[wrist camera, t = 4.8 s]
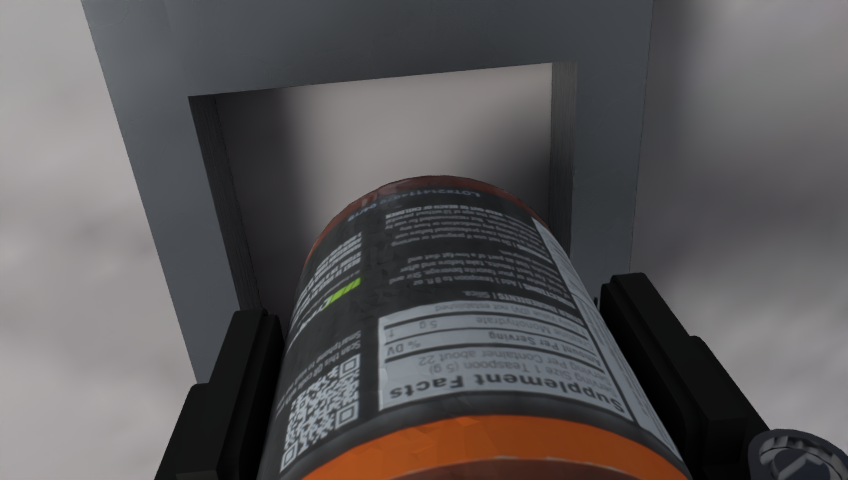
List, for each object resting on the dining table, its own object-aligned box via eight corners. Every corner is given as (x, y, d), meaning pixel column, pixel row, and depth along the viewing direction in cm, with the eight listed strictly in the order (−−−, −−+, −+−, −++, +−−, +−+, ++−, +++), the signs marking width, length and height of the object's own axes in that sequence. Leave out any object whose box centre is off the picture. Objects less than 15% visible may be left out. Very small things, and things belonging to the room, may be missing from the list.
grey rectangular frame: (622, -59, 14) (658, -52, 13) (578, 609, 26) (594, 661, 24) (115, -15, 14) (80, -2, 12) (298, 644, 25) (293, 700, 24)
